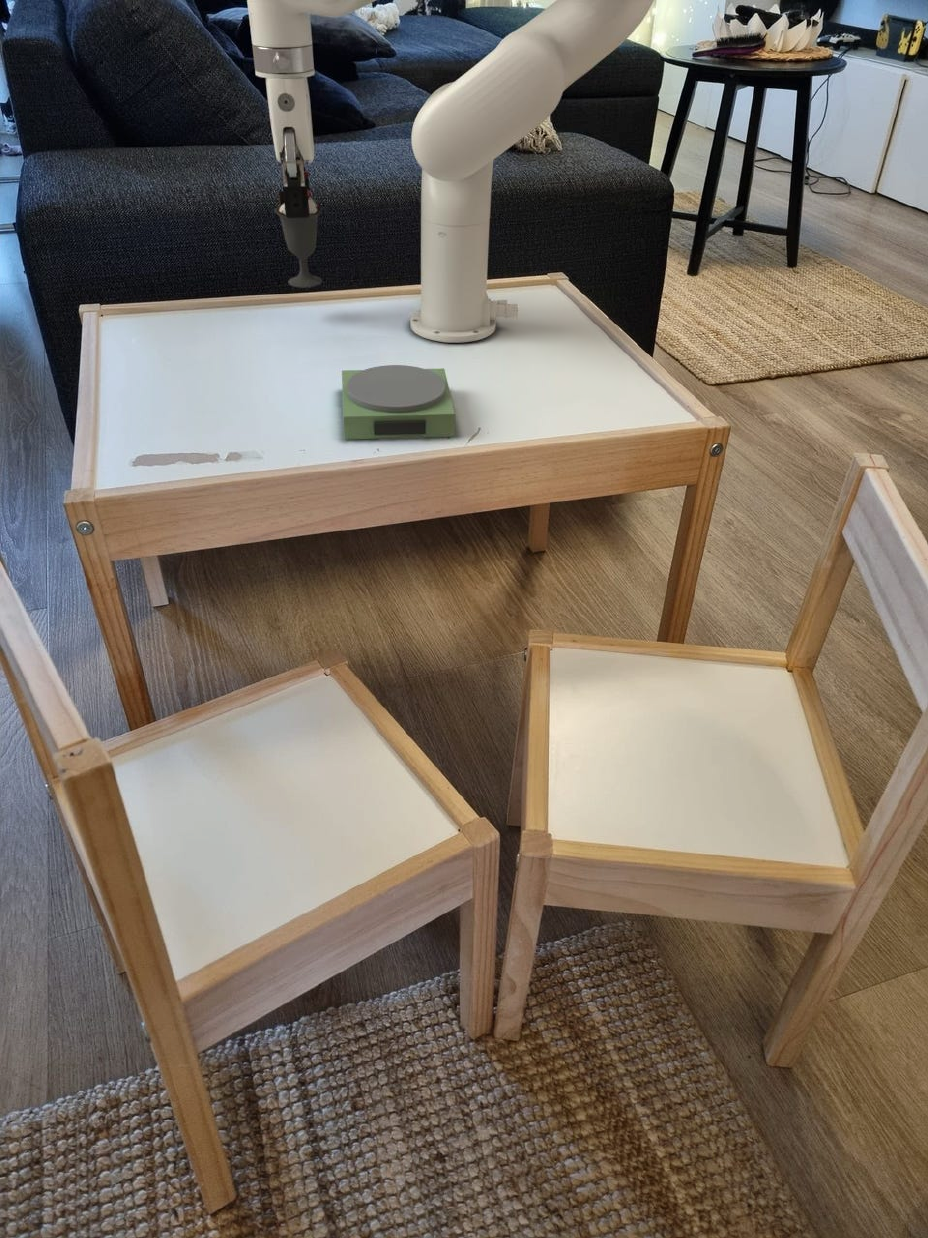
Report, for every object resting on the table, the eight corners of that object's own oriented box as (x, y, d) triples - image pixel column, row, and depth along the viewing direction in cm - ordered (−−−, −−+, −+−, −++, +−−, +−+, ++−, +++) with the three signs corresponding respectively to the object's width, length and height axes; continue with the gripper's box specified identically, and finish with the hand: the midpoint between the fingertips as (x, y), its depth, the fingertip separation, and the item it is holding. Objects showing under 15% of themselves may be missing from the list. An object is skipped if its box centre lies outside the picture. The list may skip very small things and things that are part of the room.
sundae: (332, 287, 133) (323, 174, 123) (285, 291, 131) (273, 177, 122) (324, 272, 138) (315, 163, 128) (279, 276, 136) (266, 166, 127)
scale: (443, 390, 119) (444, 362, 117) (455, 438, 109) (456, 409, 106) (343, 392, 118) (341, 364, 115) (344, 441, 107) (343, 411, 105)
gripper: (313, 71, 111) (325, 226, 122) (314, 51, 124) (325, 193, 135) (249, 71, 110) (268, 228, 121) (258, 52, 124) (274, 194, 135)
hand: (298, 208), depth 128 cm, fingers closed on sundae, 6 cm apart
